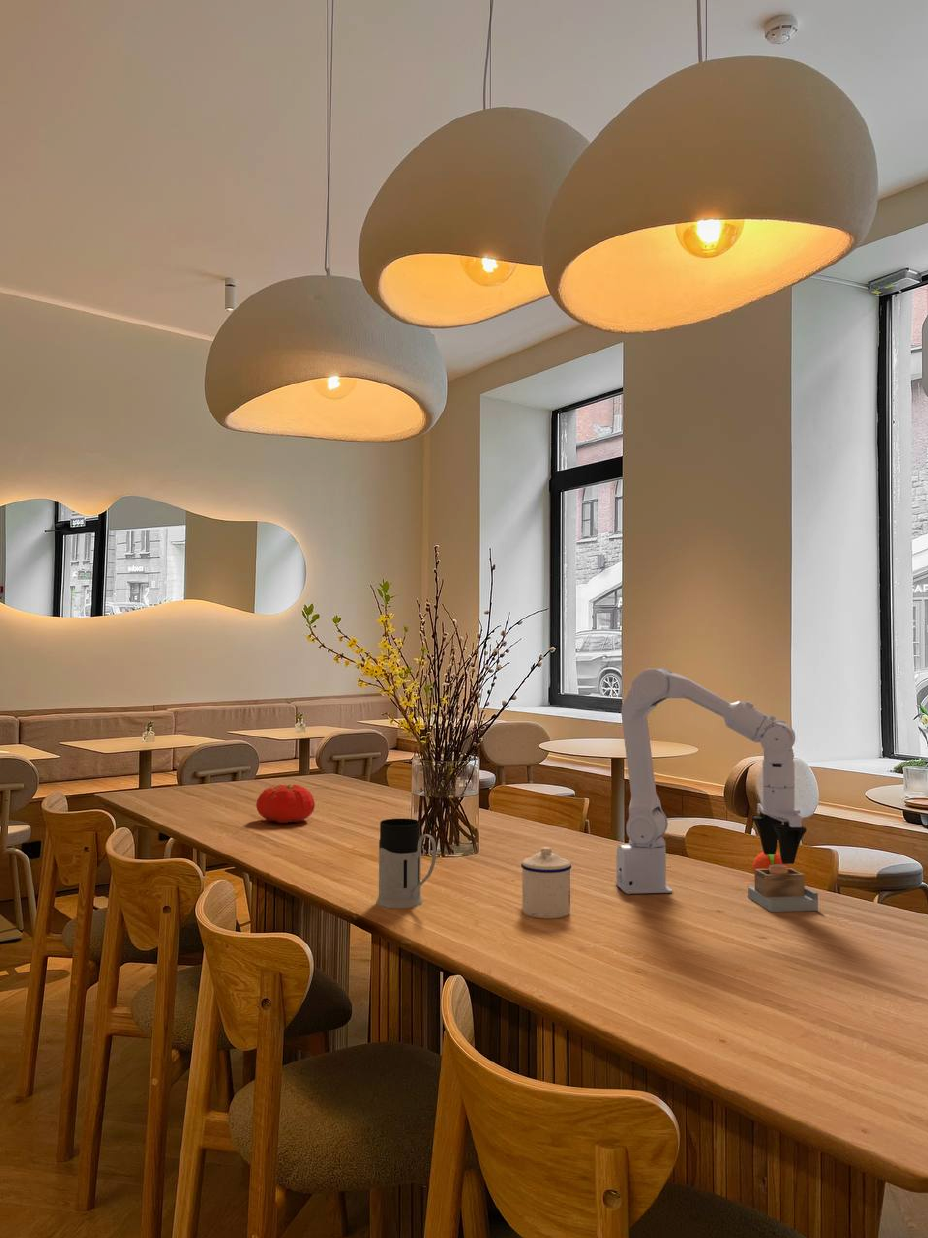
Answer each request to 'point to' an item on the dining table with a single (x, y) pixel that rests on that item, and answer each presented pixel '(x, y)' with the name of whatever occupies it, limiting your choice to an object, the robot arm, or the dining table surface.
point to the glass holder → (401, 863)
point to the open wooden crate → (779, 883)
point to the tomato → (285, 803)
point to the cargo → (778, 869)
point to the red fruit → (767, 861)
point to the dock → (786, 901)
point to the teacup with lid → (546, 885)
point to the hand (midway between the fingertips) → (778, 858)
